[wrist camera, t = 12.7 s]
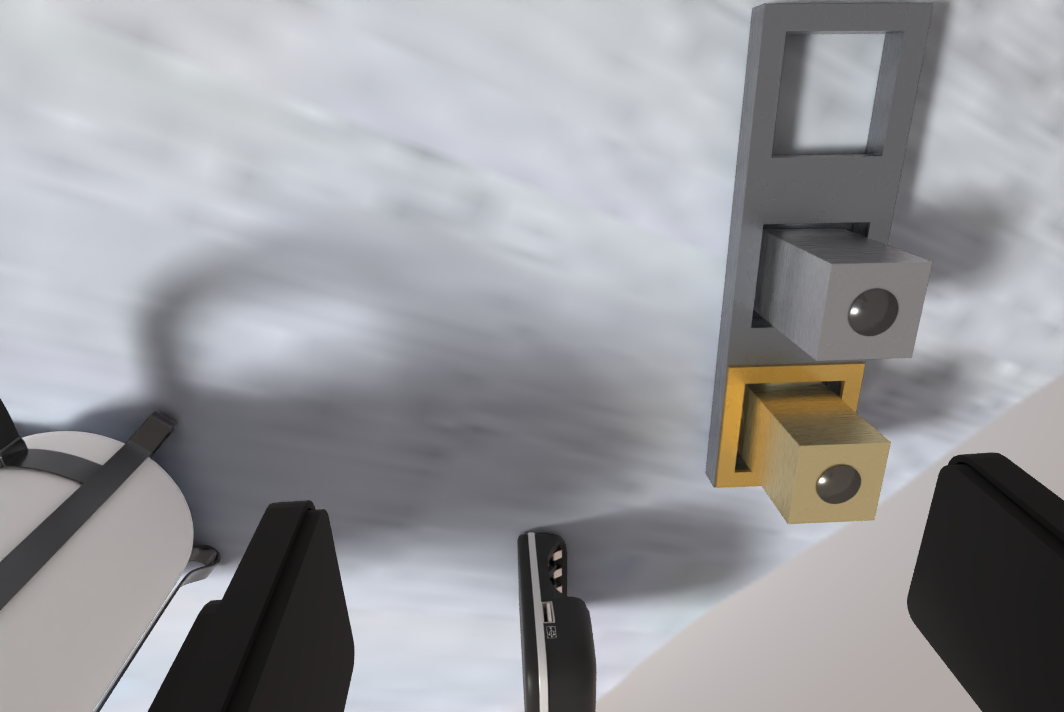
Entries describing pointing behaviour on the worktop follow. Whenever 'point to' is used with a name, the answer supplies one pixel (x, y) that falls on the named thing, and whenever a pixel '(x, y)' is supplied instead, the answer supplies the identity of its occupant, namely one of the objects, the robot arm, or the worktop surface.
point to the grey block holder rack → (804, 202)
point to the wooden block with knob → (811, 452)
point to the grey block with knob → (841, 293)
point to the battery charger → (553, 631)
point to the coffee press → (85, 560)
